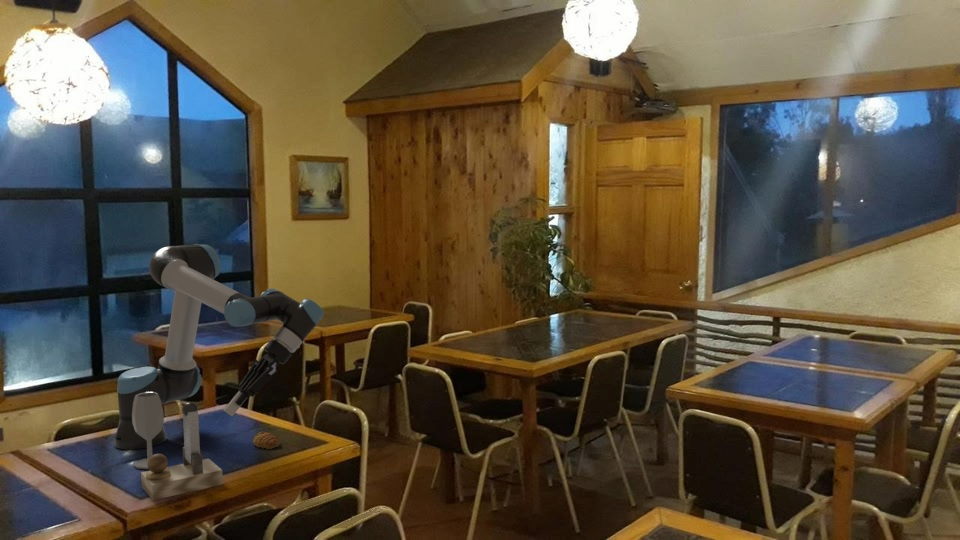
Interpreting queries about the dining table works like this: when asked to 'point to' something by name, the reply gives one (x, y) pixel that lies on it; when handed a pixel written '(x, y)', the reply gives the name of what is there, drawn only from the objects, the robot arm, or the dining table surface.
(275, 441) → the pastry
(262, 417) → the dining table surface
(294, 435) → the dining table surface
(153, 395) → the wineglass
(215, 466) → the nutcracker base
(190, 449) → the lever
